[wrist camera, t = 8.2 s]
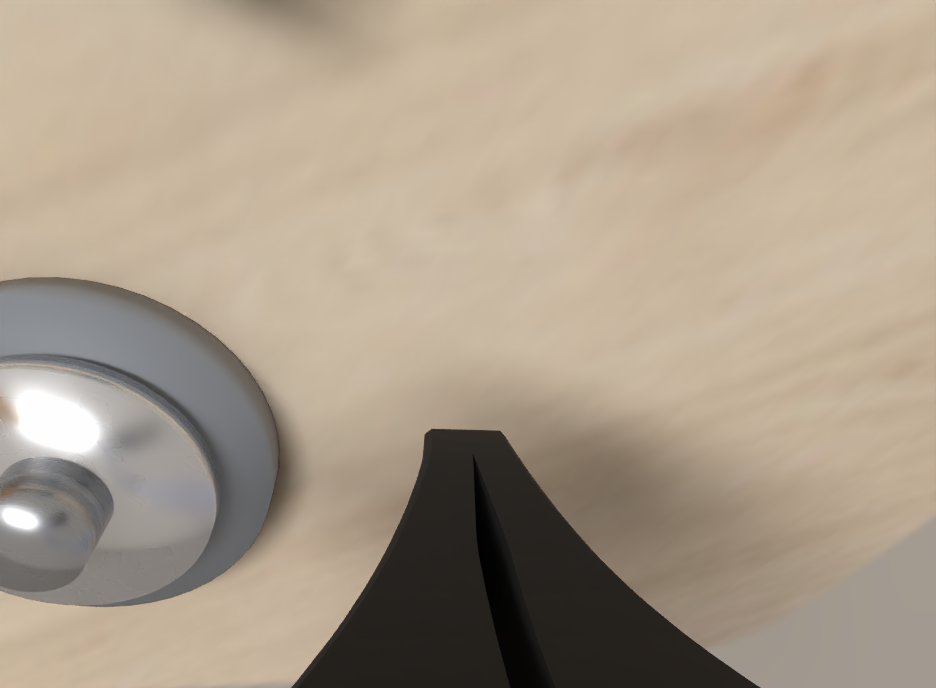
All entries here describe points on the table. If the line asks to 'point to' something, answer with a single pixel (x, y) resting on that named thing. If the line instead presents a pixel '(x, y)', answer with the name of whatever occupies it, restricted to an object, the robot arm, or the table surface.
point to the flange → (96, 484)
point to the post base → (161, 393)
